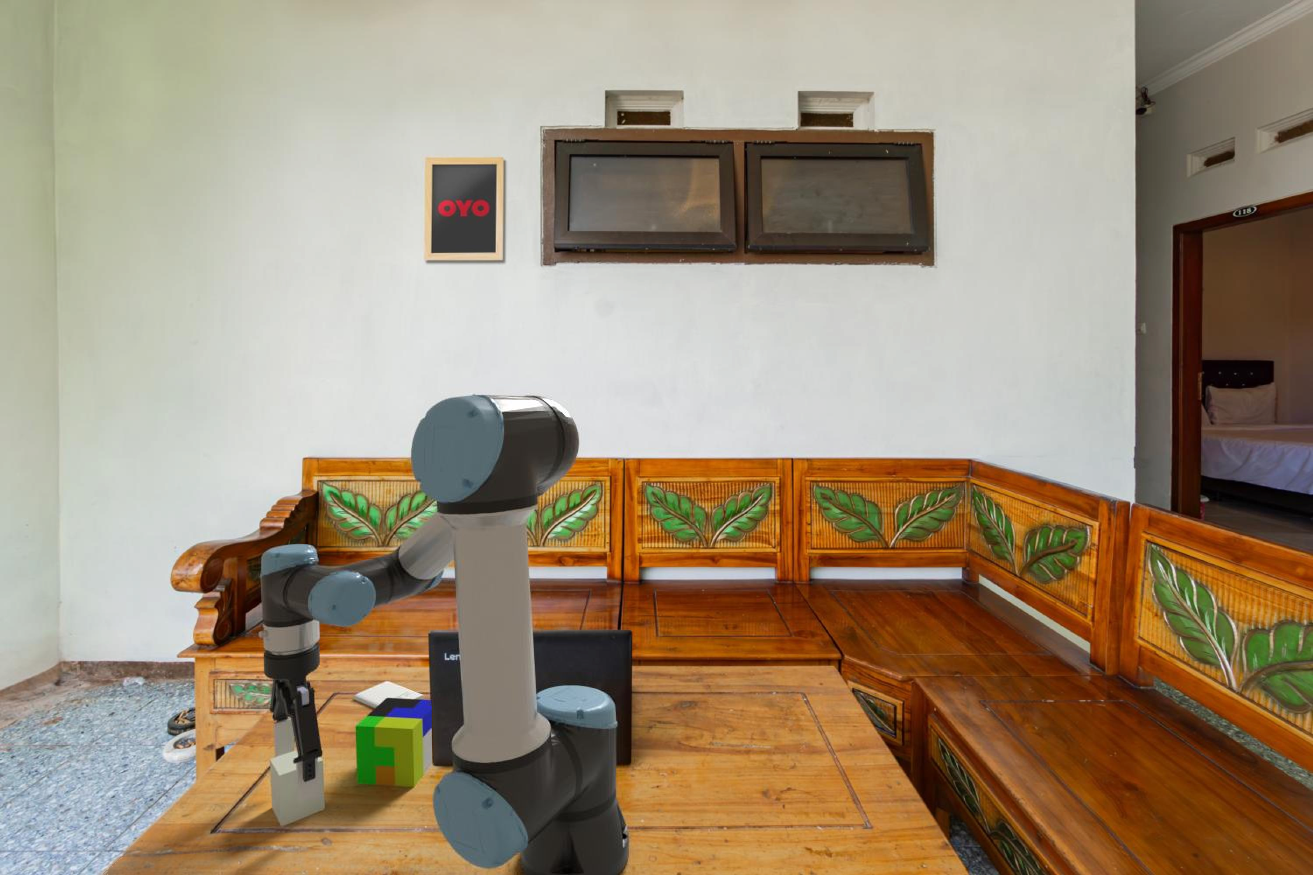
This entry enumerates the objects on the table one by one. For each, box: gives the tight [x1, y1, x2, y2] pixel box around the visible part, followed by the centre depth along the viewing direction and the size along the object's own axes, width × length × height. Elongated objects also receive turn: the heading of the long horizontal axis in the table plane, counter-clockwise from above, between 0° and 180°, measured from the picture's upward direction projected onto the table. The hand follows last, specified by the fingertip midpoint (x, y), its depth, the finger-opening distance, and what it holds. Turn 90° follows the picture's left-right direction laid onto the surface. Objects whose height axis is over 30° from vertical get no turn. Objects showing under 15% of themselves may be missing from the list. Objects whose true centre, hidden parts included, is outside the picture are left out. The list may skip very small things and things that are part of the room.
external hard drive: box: [353, 680, 425, 709], centre depth 136 cm, size 2×8×12 cm
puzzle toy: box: [355, 698, 433, 788], centre depth 110 cm, size 10×10×10 cm
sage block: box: [269, 749, 326, 827], centre depth 99 cm, size 6×6×8 cm
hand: (295, 777), depth 99 cm, fingers open, 13 cm apart
